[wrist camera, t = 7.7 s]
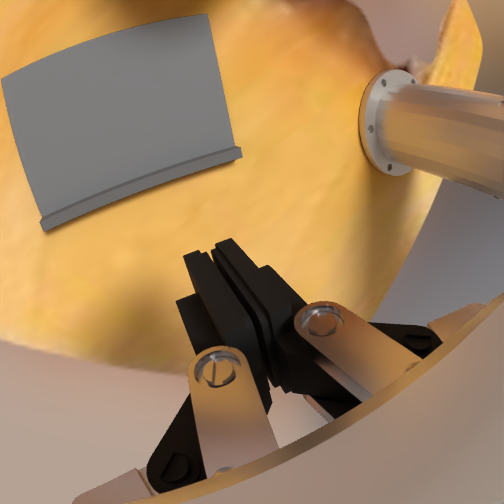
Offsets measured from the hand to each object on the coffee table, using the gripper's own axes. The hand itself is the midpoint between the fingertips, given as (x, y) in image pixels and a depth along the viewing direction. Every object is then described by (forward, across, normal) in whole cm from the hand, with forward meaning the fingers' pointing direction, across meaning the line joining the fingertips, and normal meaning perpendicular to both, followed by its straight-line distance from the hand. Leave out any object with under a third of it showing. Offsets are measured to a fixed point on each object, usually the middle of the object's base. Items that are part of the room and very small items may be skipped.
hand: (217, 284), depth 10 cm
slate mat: (+15, +2, -6) cm, 16 cm away
